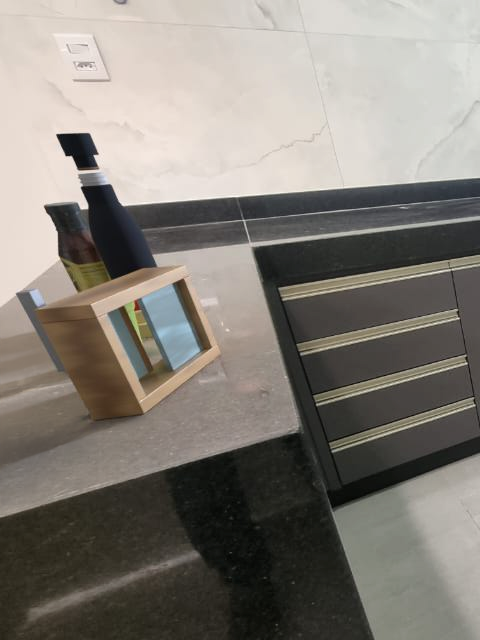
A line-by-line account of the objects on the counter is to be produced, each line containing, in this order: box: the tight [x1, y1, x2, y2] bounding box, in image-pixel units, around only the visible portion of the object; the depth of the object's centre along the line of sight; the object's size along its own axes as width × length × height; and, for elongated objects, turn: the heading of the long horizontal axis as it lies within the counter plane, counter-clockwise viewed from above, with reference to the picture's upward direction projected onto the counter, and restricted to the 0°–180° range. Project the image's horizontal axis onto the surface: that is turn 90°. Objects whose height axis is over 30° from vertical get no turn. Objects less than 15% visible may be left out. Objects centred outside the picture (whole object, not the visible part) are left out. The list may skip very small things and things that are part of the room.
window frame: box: [34, 264, 222, 421], centre depth 65 cm, size 5×18×13 cm, turn 13°
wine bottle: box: [55, 132, 158, 280], centre depth 88 cm, size 6×6×30 cm
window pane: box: [15, 288, 154, 380], centre depth 60 cm, size 4×8×13 cm, turn 13°
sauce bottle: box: [43, 201, 111, 293], centre depth 90 cm, size 7×6×20 cm
